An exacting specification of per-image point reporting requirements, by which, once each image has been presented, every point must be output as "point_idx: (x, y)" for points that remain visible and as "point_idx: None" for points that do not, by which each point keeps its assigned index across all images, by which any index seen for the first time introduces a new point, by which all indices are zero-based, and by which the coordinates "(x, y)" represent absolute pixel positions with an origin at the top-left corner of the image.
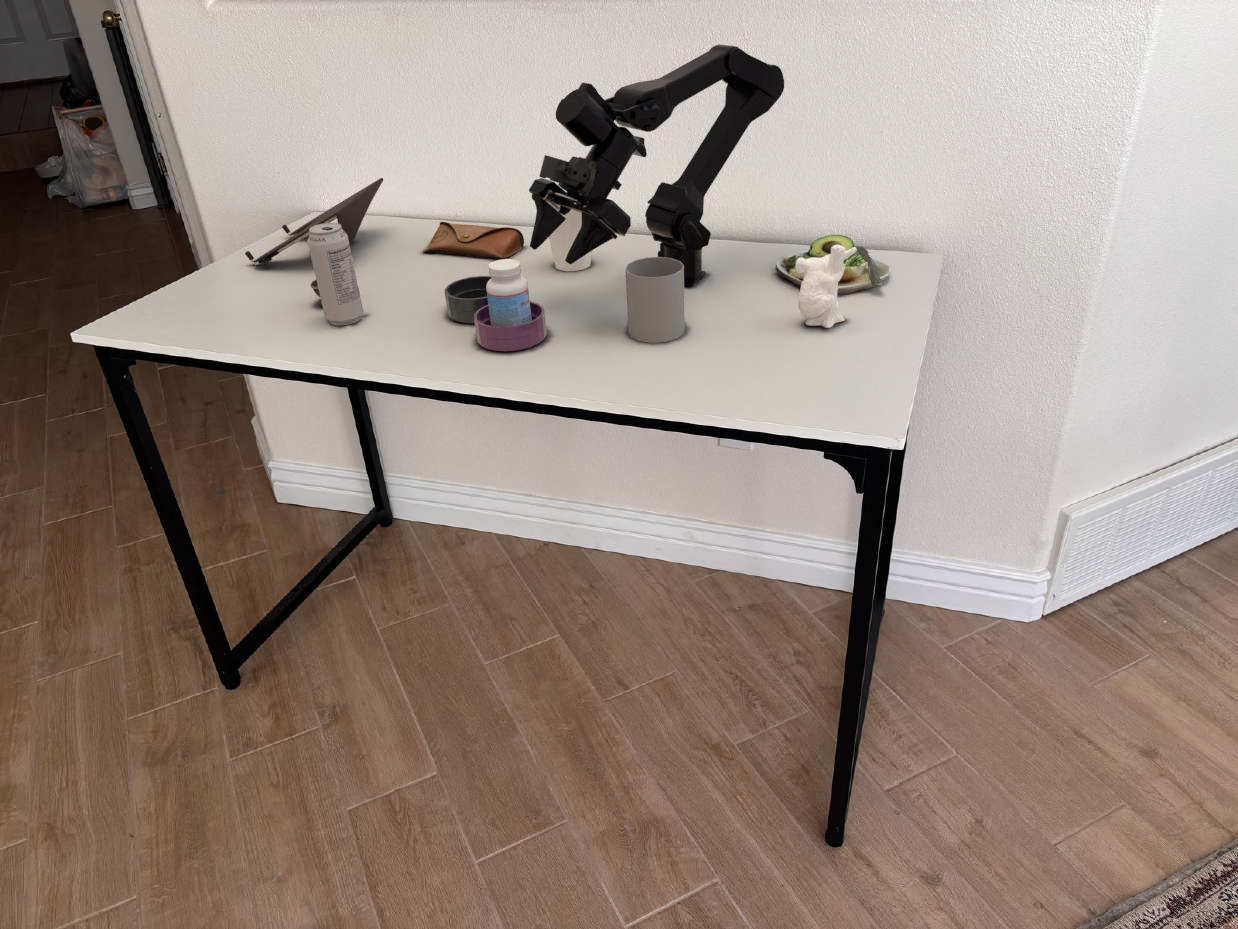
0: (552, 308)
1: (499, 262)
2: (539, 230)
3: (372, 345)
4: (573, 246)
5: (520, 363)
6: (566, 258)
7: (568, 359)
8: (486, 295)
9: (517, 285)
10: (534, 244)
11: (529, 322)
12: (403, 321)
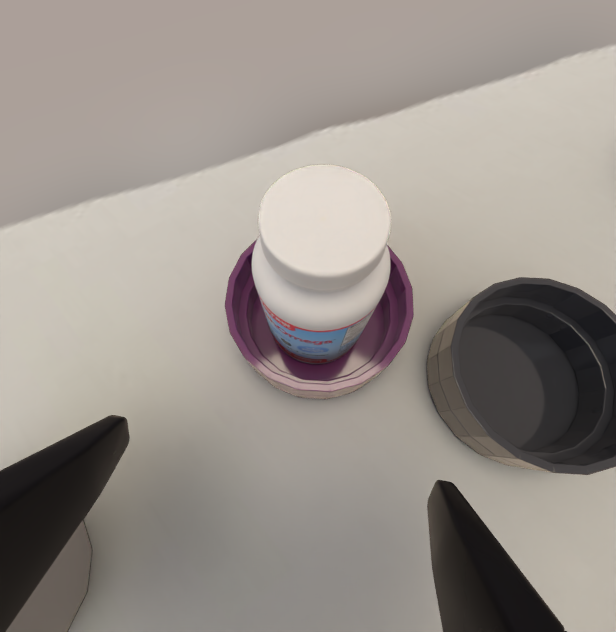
0: (375, 521)
1: (359, 220)
2: (475, 596)
3: (510, 155)
4: (34, 464)
5: (215, 250)
6: (111, 420)
7: (138, 314)
8: (568, 440)
9: (257, 247)
10: (436, 504)
11: (230, 286)
12: (582, 247)
